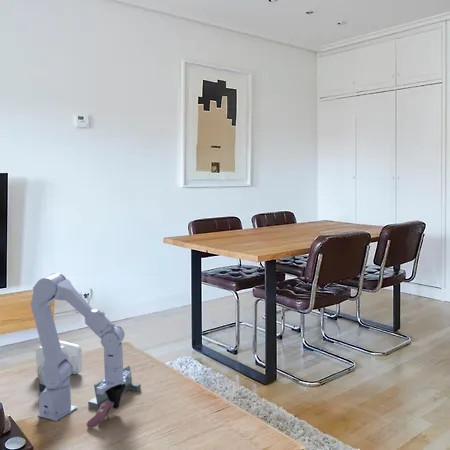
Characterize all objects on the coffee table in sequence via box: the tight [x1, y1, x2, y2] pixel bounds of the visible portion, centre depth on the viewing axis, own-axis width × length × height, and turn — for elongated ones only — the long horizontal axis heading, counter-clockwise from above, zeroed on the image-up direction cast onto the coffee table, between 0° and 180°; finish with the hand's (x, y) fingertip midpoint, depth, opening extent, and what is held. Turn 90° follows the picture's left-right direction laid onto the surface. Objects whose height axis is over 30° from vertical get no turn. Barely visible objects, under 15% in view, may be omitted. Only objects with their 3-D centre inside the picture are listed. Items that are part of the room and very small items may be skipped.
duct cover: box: [93, 364, 133, 403], centre depth 165 cm, size 18×6×1 cm
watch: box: [37, 362, 46, 393], centre depth 171 cm, size 6×8×11 cm
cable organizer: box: [35, 339, 83, 375], centre depth 185 cm, size 15×11×12 cm
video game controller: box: [86, 400, 114, 429], centre depth 150 cm, size 10×5×7 cm, turn 173°
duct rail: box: [87, 382, 142, 411], centre depth 166 cm, size 18×8×2 cm, turn 155°
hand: (115, 407), depth 155 cm, fingers closed
